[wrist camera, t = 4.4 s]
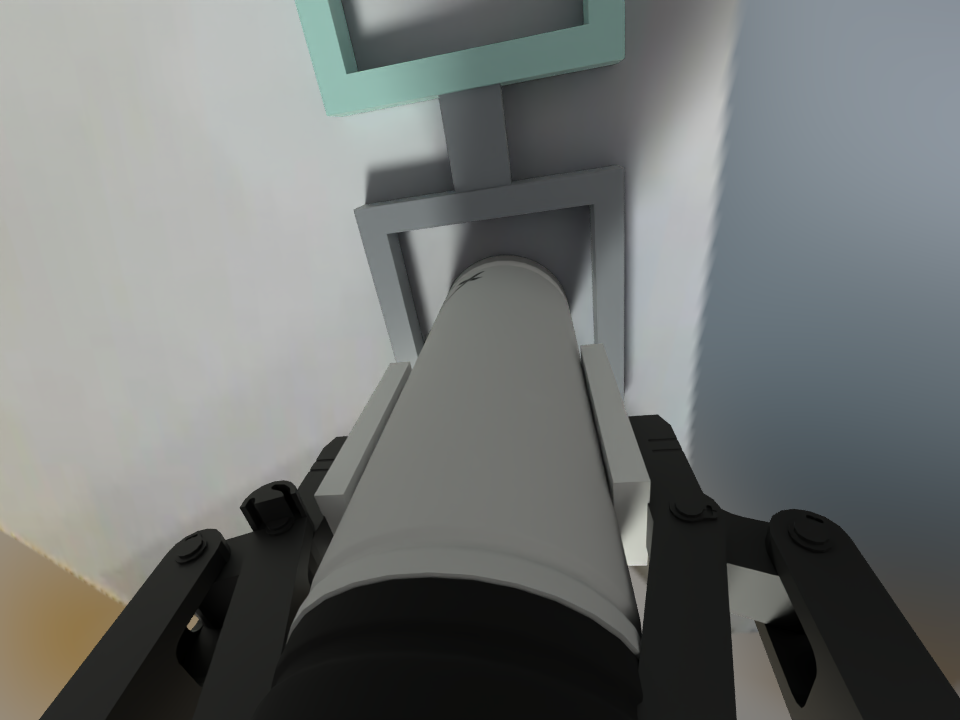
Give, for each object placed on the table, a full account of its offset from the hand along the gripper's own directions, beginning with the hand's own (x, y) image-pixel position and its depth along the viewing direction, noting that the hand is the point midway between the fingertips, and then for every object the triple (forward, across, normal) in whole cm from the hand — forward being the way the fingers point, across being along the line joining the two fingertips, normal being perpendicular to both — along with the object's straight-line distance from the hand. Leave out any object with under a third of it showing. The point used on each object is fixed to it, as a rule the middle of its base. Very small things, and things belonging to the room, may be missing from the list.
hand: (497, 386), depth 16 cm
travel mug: (+7, 0, 0) cm, 7 cm away
